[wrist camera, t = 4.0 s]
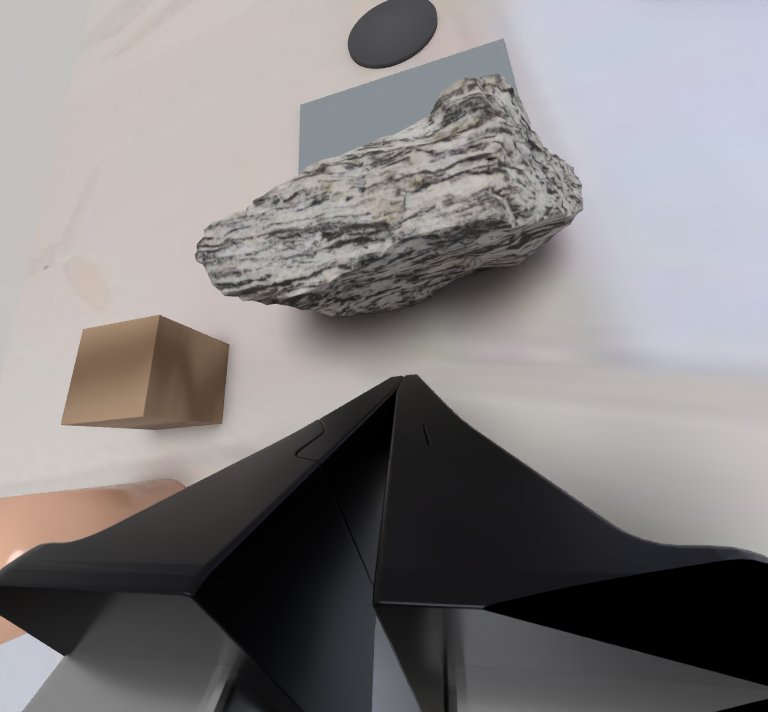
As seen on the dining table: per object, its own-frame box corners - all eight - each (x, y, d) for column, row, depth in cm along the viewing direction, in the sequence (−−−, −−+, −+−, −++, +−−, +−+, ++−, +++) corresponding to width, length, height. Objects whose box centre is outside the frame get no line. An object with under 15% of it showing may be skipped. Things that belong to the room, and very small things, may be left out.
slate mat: (538, 184, 18) (540, 180, 18) (299, 238, 21) (297, 235, 21) (503, 43, 21) (503, 38, 21) (302, 108, 25) (300, 104, 24)
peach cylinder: (177, 589, 17) (-8, 682, 10) (111, 560, 18) (-89, 625, 12) (207, 490, 18) (58, 517, 11) (143, 470, 19) (-23, 483, 13)
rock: (273, 354, 19) (129, 279, 9) (272, 230, 20) (152, 55, 11) (540, 329, 18) (703, 217, 8) (516, 203, 20) (625, -12, 10)
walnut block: (222, 423, 19) (143, 416, 14) (155, 429, 20) (60, 424, 15) (229, 345, 20) (159, 315, 16) (166, 354, 21) (83, 329, 17)
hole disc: (429, 61, 23) (428, 56, 22) (340, 73, 25) (339, 69, 24) (443, -7, 24) (443, -12, 24) (359, 10, 26) (358, 5, 26)
